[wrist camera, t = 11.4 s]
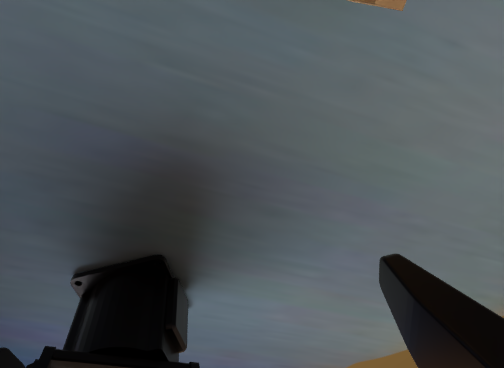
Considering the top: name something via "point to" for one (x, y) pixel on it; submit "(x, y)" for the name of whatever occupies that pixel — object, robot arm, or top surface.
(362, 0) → the pine rack
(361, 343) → the top surface
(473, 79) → the top surface
